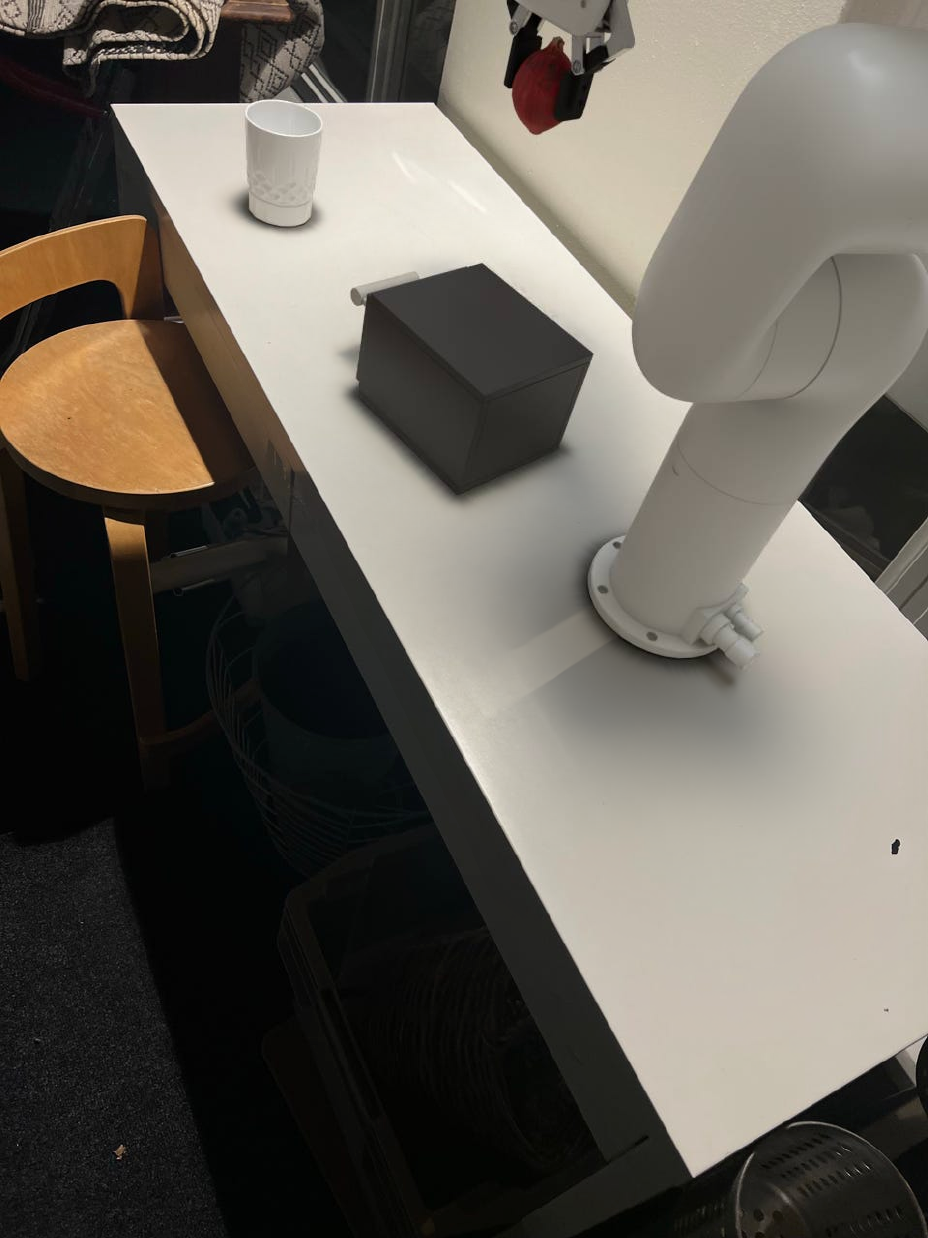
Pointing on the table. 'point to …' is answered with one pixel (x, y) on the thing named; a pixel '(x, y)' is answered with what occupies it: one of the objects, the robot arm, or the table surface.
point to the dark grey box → (469, 374)
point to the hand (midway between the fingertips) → (542, 100)
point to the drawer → (363, 296)
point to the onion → (540, 86)
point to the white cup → (282, 160)
